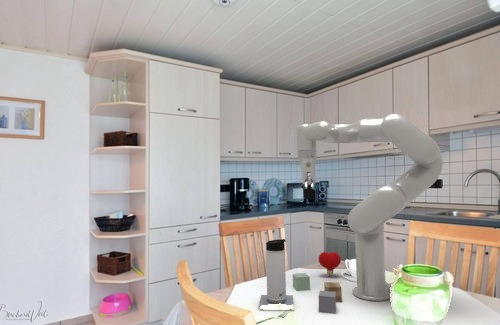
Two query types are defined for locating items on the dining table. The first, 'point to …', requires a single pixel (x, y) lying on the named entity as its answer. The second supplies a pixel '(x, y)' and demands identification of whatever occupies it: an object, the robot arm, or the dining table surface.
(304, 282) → the sage green block
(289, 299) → the coaster mat
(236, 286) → the dining table surface
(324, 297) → the charcoal block
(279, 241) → the travel mug
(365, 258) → the robot arm
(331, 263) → the red heart figurine
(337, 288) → the walnut block
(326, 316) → the dining table surface
